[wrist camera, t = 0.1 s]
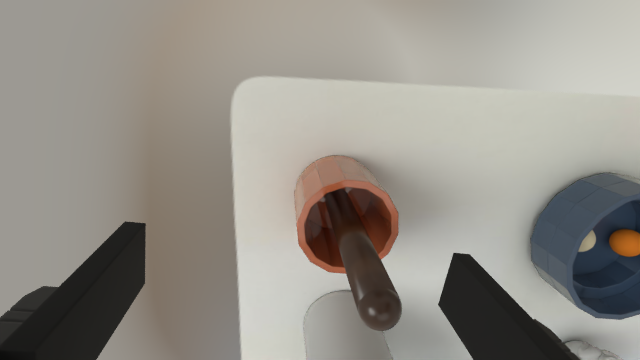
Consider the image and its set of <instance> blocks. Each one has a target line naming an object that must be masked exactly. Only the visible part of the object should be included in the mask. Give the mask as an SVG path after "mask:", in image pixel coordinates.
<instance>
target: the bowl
mask: <svg viewBox="0 0 640 360" xmlns="http://www.w3.org/2000/svg"><path fill="white" fill-rule="evenodd" d="M620 229H630V230H634V231H636V232H638V233H639V234H640V179H637V178H634V177H631V176H628V175H621V174H613V173H602V174H598V175H594V176H590V177H587V178H583V179H580V180H578V181H576V182H575V183H573V184H572V185H570V186H569V187H567V188H566V189H564V190H563V191H561V192H560V193H558V194H557V195H555V197H554V198H553V199H552V200H551V202H550V203H549V204H548V205H547V207H546V208H545V209H544V210H543V212H542V213H541V214H540V215H539V217H538V220H537V223H536V225H535V228H534V231H533V234H532V236H531V258H532V262H533V264H534V266H535V267H536V269H537V271H538V272H539V274H540V276H541V277H542V278H543V279H544V280H545V281H546V282H548V283H549V284H550V285H551V286H552V287H554V288H555V289H556V290H557V291H558V292H560V293H561V294H562V295H563V296H564V297H566V298H567V299H568V300H569V301H570V302H572V303H573V304H574V305H575V306H577V307H578V308H579V309H581V310H583V311H585V312H587V313H588V314H590V315H592V316H594V317H595V318H605V319H618V320H621V319H624V318H628V317H632V316H635V315H639V314H640V254H639V255H637V256H633V257H626V256H622V255H619V254H617V253H616V252H614V251H613V250H612V248H611V247H610V244H609V238H610V236H611V235H612V233H614V232H615V231H617V230H620ZM591 230H593V232H594V233H595V236H596V242H595V245H594V246H593V247H592V248H591V249H589V250H587V251H584V252H578V251H579V248H580V246H581V243H582V241H583V240H584V238H585V237H586V236H587V235H588V234H589V233H590V231H591Z"/></svg>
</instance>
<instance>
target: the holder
mask: <svg viewBox="0 0 640 360" xmlns="http://www.w3.org/2000/svg"><path fill="white" fill-rule="evenodd" d="M338 189H343V190H344V191H346V192H347V193H348V195H349V197H350V199H351V201H352V203H353V205H354V207H355V209H356V211H357V213H358V215H359V217H360V219H361V221H362V223H363V225H364V227H365V229H366V231H367V233H368V235H369V237H370V239H371V241H372V244H373V246H374V248H375V250H376V252H377V254H378V256H379V258H380V260H381V259H382V258H384V257H385V256H386V255H387V254H388V253H389V252H390V250H391V248H392V246H393V244H394V242H395V240H396V238H397V236H398V211H397V209H396V208H395V206H394V204H393V202H392V200H391V198H390V197H389V195H388V194H387V192H386V191H385V190H384V189H383V187H382V186H381V185H380V184H379V182H378V181H377V180H376V179H375V177H374V176H373V175H372V174H371V172H370V171H369V170H368V169H367V168H366V167H365V166H363V165H362V164H361V163H359V162H358V161H356V160H354V159H352V158H349V157H345V156H328V157H324V158H321V159H319V160H317V161H315V162H313V163H312V164H310V165H309V166H308V167H307V168H306V169H305V170H304V171H303V173H302V174H301V175H300V177H299V179H298V181H297V184H296V188H295V191H294V196H295V209H296V221H297V232H298V242H299V246H300V247H301V249H302V250H303V252H304V253H305V255H306V256H307V258H308V259H309V260H310V262H312V263H313V264H315V265H317V266H319V267H321V268H323V269H324V270H326V271H328V272H333V273H345V274H346V271H345V267H344V264H343V261H342V257H341V254H340V251H339V247H338V244H337V241H336V237H335V234H334V230H333V227H332V224H331V220H330V217H329V214H328V210H327V207H326V204H325V198H326V195H327V194H328V192H332V191H335V190H338Z"/></svg>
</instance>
